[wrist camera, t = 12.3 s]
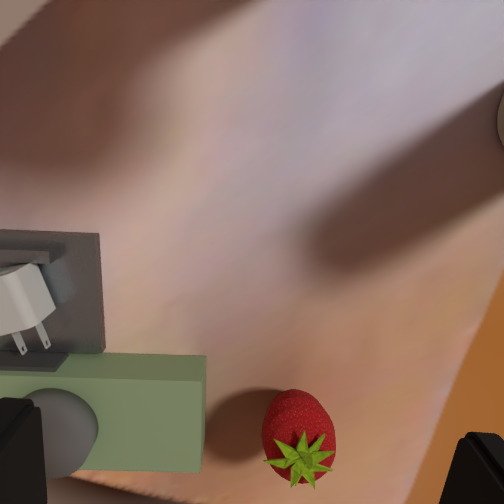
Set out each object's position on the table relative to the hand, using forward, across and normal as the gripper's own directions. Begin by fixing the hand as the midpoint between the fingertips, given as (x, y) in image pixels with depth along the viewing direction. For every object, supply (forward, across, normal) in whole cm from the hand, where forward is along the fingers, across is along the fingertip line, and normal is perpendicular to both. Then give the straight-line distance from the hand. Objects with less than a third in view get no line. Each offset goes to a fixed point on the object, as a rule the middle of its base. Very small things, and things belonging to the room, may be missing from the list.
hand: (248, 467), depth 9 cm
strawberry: (+24, -6, +16) cm, 30 cm away
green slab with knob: (+24, +14, +18) cm, 33 cm away
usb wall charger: (+24, +17, +8) cm, 31 cm away
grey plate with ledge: (+24, +18, +8) cm, 31 cm away
